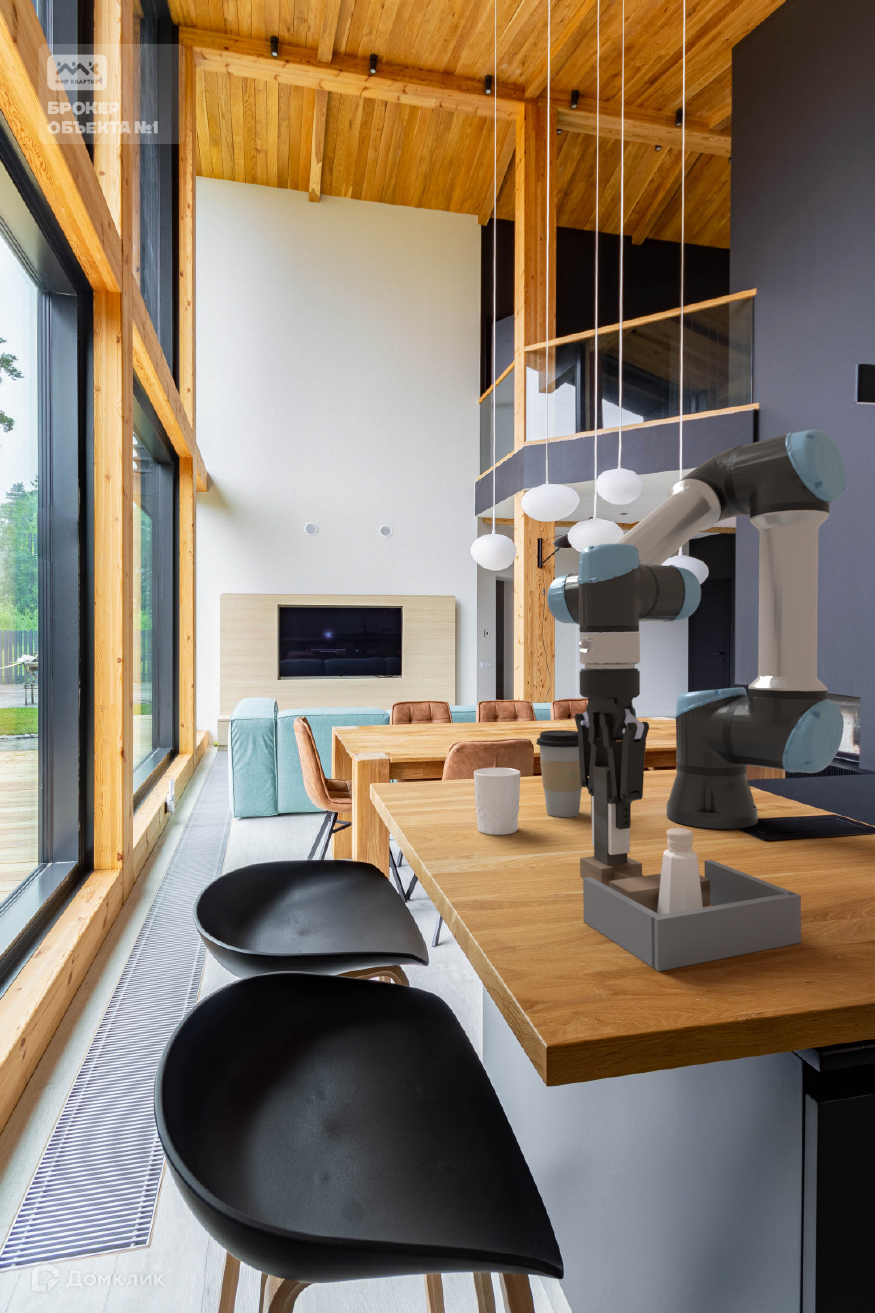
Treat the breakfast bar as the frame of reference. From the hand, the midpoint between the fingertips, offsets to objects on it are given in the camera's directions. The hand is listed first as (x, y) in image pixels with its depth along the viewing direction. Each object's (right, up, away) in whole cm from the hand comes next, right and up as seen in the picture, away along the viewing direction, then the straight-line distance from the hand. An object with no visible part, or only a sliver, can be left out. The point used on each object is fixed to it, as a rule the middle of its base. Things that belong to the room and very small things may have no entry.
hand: (610, 848), depth 94 cm
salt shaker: (+5, -6, -13) cm, 15 cm away
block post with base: (+2, -4, -4) cm, 6 cm away
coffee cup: (+1, -5, +41) cm, 42 cm away
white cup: (-12, -5, +30) cm, 33 cm away
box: (+5, -5, -14) cm, 16 cm away
